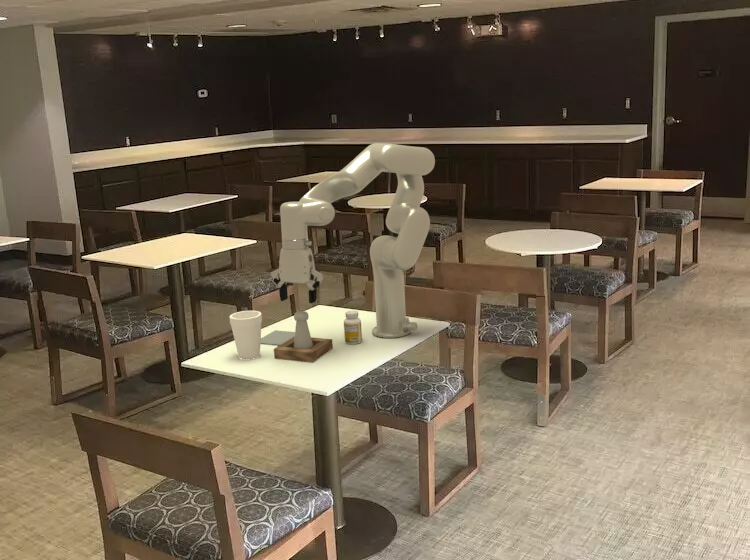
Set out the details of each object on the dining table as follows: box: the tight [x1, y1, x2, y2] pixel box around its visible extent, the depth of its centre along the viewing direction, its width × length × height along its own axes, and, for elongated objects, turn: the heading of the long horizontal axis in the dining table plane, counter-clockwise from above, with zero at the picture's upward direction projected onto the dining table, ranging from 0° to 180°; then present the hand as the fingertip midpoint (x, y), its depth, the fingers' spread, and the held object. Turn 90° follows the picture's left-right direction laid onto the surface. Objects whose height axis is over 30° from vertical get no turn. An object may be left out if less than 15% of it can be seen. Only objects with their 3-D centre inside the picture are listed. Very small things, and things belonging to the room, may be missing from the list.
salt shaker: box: [293, 310, 313, 349], centre depth 230 cm, size 6×6×13 cm
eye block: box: [273, 336, 334, 363], centre depth 231 cm, size 13×13×3 cm
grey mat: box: [260, 329, 295, 347], centre depth 247 cm, size 13×13×1 cm
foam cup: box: [229, 310, 263, 360], centre depth 230 cm, size 10×9×13 cm
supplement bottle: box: [343, 310, 363, 345], centre depth 239 cm, size 5×5×10 cm
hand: (298, 301), depth 227 cm, fingers open, 9 cm apart
